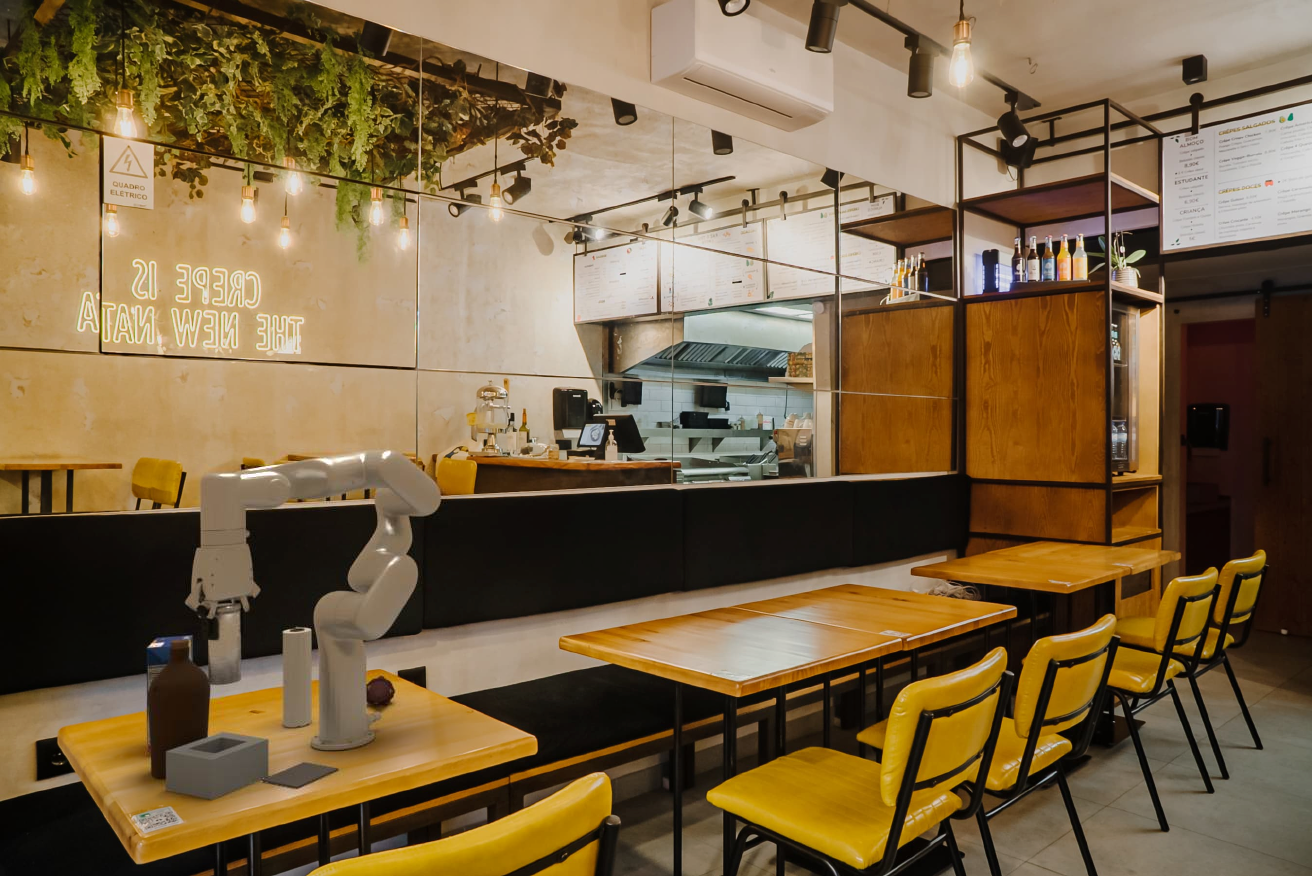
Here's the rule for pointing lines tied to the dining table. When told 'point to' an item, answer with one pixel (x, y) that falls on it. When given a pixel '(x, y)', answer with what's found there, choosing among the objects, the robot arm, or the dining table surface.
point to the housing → (216, 765)
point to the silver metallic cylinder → (225, 646)
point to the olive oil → (177, 706)
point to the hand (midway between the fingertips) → (224, 635)
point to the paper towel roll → (297, 677)
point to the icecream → (379, 691)
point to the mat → (300, 775)
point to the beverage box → (160, 665)
